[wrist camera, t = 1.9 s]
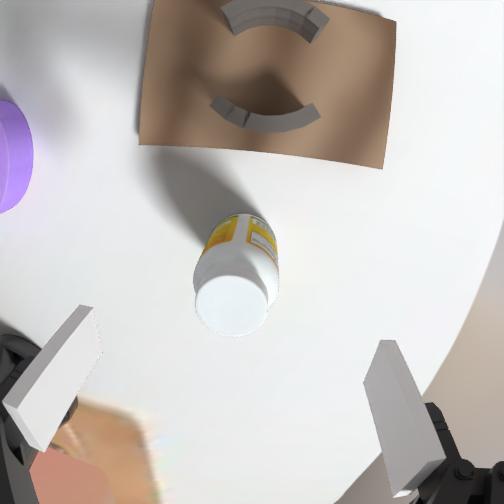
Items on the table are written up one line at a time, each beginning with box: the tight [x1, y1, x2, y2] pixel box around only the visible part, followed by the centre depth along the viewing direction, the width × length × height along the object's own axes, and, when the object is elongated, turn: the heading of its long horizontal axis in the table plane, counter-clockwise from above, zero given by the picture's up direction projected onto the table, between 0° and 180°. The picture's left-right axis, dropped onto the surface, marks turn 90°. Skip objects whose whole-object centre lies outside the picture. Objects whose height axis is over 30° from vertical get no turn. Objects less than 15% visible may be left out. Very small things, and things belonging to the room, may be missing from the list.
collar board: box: [139, 0, 396, 169], centre depth 18 cm, size 18×12×6 cm, turn 85°
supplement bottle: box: [193, 214, 279, 337], centre depth 22 cm, size 5×5×10 cm
